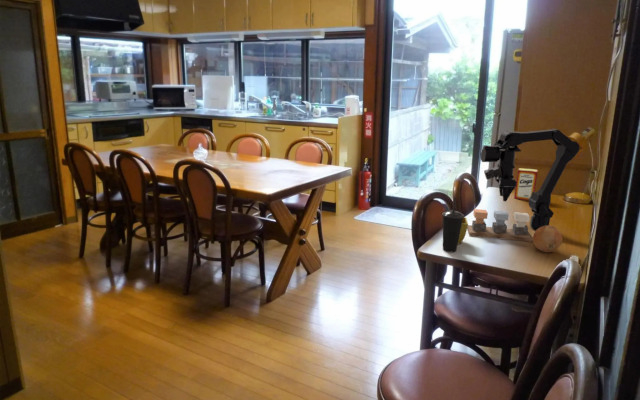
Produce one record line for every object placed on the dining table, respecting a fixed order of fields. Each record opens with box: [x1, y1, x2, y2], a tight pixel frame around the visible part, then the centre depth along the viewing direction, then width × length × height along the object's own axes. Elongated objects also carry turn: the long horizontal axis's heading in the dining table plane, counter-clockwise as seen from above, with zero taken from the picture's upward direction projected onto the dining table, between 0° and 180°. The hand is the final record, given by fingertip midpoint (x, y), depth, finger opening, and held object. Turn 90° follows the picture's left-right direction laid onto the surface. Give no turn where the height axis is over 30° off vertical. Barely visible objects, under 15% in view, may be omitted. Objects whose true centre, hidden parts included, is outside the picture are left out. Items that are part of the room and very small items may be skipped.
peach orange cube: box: [473, 208, 489, 224], centre depth 194 cm, size 5×5×5 cm
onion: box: [532, 224, 563, 253], centre depth 176 cm, size 10×10×10 cm
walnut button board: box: [467, 219, 533, 242], centre depth 194 cm, size 24×10×4 cm, turn 79°
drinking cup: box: [441, 196, 465, 253], centre depth 173 cm, size 8×8×20 cm
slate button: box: [493, 210, 510, 226], centre depth 193 cm, size 5×5×5 cm
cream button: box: [513, 211, 531, 228], centre depth 191 cm, size 5×5×5 cm
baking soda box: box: [513, 167, 539, 201], centre depth 255 cm, size 10×6×16 cm
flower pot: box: [458, 216, 469, 245], centre depth 183 cm, size 9×9×9 cm
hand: (503, 198), depth 201 cm, fingers open, 9 cm apart
